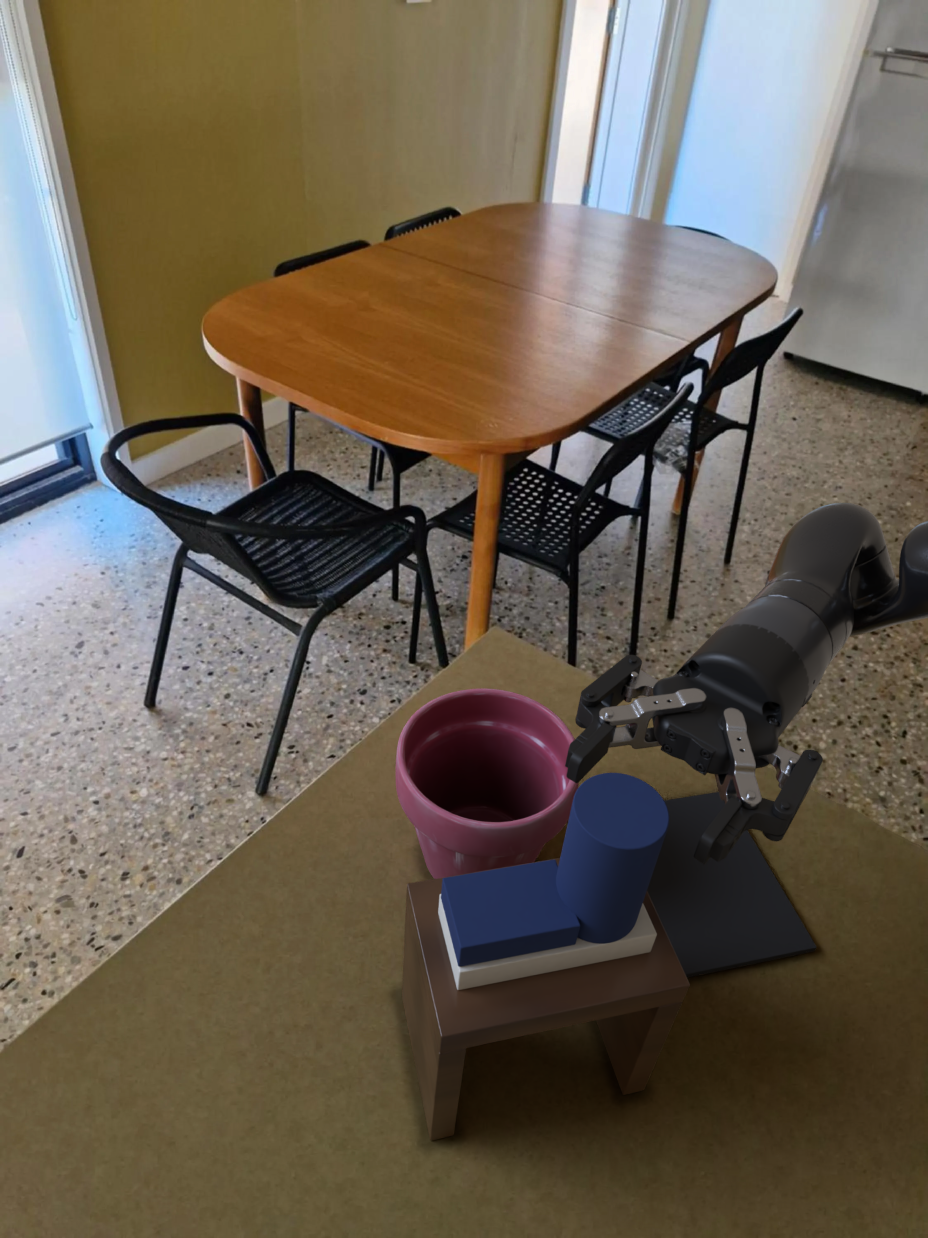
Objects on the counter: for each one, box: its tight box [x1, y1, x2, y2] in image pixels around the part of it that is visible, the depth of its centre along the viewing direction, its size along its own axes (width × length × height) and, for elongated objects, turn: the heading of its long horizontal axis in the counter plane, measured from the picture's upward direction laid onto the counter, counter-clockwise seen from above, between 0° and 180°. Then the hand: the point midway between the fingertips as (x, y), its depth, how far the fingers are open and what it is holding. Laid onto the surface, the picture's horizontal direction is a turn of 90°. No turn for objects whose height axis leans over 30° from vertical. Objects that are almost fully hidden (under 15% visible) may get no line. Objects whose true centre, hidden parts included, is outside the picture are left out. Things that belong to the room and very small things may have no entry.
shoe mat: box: [647, 791, 818, 979], centre depth 74 cm, size 16×12×1 cm
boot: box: [438, 772, 669, 990], centre depth 51 cm, size 12×5×11 cm, turn 104°
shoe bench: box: [401, 857, 691, 1141], centre depth 58 cm, size 10×15×14 cm, turn 104°
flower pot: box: [395, 688, 580, 879], centre depth 71 cm, size 14×14×13 cm
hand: (635, 810), depth 50 cm, fingers open, 8 cm apart
